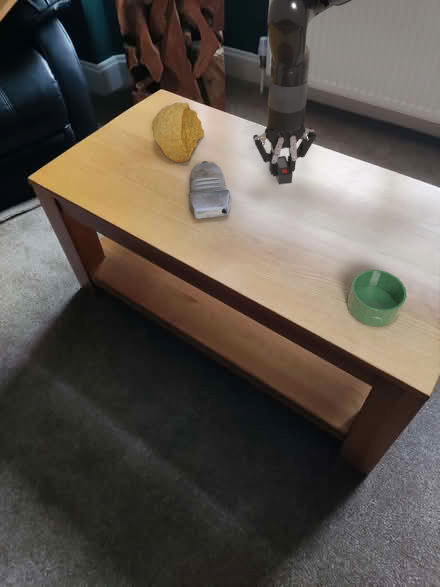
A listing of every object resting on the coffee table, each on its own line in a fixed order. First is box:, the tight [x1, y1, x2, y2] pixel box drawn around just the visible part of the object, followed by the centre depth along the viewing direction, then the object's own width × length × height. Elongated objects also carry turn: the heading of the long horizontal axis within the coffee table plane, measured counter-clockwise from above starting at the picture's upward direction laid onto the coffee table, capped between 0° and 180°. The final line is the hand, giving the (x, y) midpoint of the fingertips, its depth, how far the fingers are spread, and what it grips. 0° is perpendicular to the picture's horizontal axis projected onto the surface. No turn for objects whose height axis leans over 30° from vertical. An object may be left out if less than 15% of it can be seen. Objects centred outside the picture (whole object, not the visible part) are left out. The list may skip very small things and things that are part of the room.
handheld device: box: [187, 160, 232, 220], centre depth 101 cm, size 10×20×5 cm, turn 6°
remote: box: [275, 155, 293, 186], centre depth 98 cm, size 7×3×3 cm, turn 8°
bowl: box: [346, 269, 407, 328], centre depth 79 cm, size 9×9×5 cm
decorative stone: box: [151, 102, 205, 163], centre depth 112 cm, size 13×15×15 cm
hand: (281, 173), depth 99 cm, fingers closed on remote, 3 cm apart
